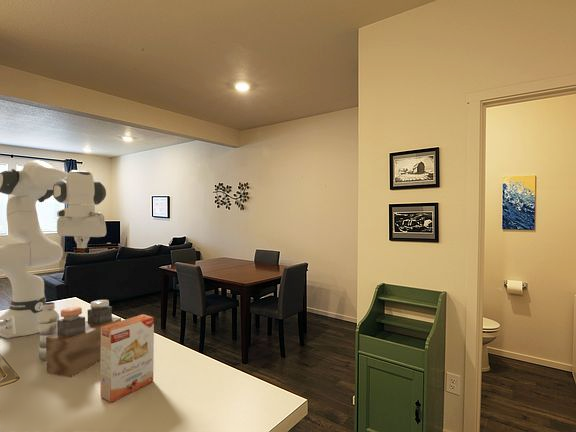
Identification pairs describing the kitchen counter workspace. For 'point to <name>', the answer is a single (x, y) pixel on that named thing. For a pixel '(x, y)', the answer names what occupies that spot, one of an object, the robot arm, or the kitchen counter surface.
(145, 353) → the cracker box
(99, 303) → the grey plunger
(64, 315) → the orange ball
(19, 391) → the kitchen counter surface
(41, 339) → the plastic bottle
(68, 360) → the stand
